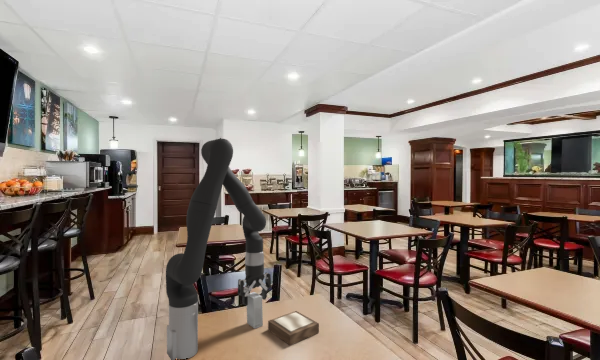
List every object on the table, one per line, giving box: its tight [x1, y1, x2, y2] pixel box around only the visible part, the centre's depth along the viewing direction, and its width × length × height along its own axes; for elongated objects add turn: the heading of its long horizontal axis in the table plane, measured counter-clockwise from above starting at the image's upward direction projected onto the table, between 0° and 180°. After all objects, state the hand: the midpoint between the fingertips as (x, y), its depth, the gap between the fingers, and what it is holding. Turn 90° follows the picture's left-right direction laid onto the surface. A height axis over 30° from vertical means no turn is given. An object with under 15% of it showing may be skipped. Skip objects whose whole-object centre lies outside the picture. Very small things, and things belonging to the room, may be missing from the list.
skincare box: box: [246, 291, 264, 329], centre depth 124 cm, size 6×4×12 cm
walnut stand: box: [267, 310, 320, 346], centre depth 119 cm, size 14×14×4 cm
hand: (255, 301), depth 125 cm, fingers open, 8 cm apart
